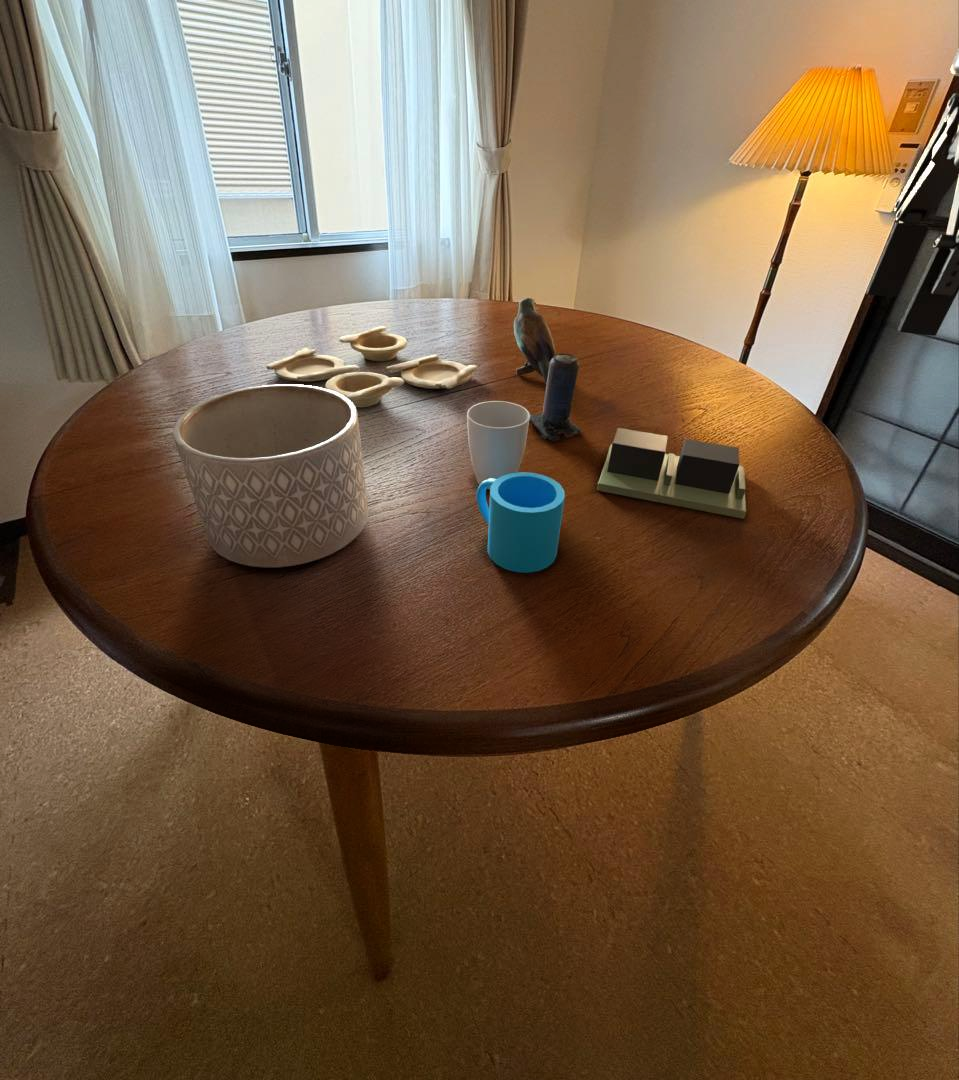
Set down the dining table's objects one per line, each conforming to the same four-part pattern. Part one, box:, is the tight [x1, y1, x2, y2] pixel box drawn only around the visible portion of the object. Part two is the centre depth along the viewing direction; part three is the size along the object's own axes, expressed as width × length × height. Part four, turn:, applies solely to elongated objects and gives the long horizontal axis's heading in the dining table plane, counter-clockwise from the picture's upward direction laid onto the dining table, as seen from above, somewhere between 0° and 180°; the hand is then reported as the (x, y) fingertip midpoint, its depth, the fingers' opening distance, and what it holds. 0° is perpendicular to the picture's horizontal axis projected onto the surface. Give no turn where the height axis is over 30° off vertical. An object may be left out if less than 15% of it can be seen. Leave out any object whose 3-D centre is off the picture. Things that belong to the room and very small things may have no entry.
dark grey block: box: [675, 438, 740, 494], centre depth 76 cm, size 7×5×4 cm
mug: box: [475, 471, 566, 574], centre depth 64 cm, size 12×8×8 cm
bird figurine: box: [513, 297, 557, 385], centre depth 106 cm, size 13×10×20 cm
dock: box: [596, 427, 747, 520], centre depth 77 cm, size 19×12×6 cm, turn 71°
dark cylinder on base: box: [529, 352, 581, 443], centre depth 88 cm, size 9×8×12 cm
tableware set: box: [265, 325, 478, 408], centre depth 106 cm, size 35×29×4 cm
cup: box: [466, 400, 531, 490], centre depth 75 cm, size 8×8×10 cm
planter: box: [172, 384, 370, 568], centre depth 64 cm, size 19×19×14 cm
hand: (896, 312), depth 53 cm, fingers open, 13 cm apart
